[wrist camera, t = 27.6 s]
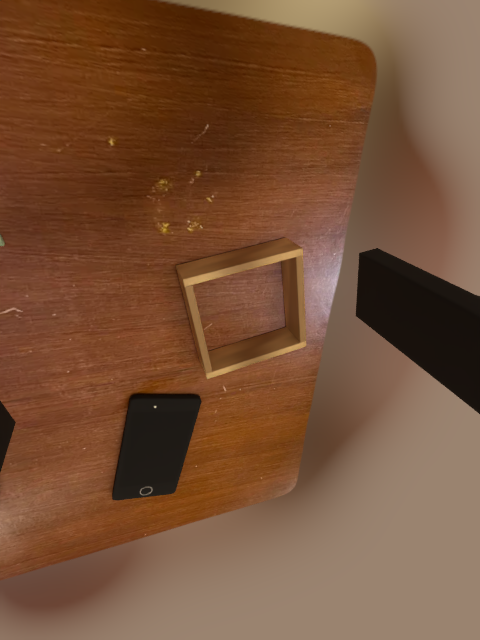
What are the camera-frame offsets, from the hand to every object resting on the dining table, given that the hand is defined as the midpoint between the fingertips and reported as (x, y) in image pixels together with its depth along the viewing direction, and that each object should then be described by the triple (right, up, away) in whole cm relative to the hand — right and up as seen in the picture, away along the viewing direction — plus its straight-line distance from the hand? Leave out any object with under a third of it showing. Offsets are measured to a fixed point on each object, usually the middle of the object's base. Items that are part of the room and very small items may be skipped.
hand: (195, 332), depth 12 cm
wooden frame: (+2, +3, +28) cm, 29 cm away
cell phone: (-10, -17, +35) cm, 40 cm away
